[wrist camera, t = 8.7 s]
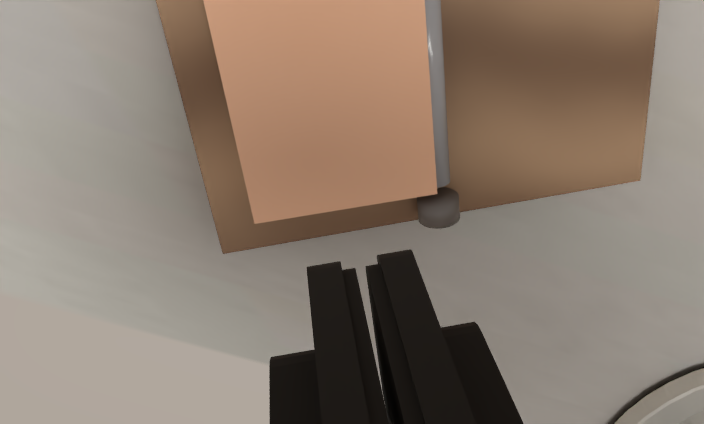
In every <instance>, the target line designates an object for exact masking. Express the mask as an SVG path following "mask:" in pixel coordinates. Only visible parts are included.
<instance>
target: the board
mask: <svg viewBox="0 0 704 424" xmlns="http://www.w3.org/2000/svg"><path fill="white" fill-rule="evenodd" d="M659 1H660V0H441V16H442V35H443V53H444V72H445V90H446V109H447V127H448V146H449V164H450V183H449V184H448V185H446V186H444V187H439V188H437V194H434V195H428V196H422V197H416V198H410V199H404V200H398V201H392V202H386V203H380V204H373V205H367V206H361V207H355V208H349V209H343V210H337V211H331V212H325V213H319V214H312V215H306V216H300V217H294V218H288V219H282V220H276V221H270V222H264V223H258V224H254V219H253V215H252V211H251V206H250V202H249V198H248V193H247V189H246V184H245V180H244V176H243V171H242V167H241V163H240V158H239V154H238V150H237V145H236V141H235V137H234V132H233V128H232V124H231V119H230V115H229V110H228V106H227V102H226V97H225V93H224V89H223V84H222V80H221V76H220V71H219V67H218V63H217V58H216V54H215V49H214V45H213V41H212V36H211V32H210V28H209V23H208V19H207V15H206V10H205V6H204V2H203V0H156V3H157V7H158V10H159V14H160V18H161V22H162V25H163V29H164V33H165V37H166V41H167V44H168V48H169V52H170V56H171V59H172V63H173V67H174V71H175V75H176V78H177V82H178V86H179V90H180V94H181V97H182V101H183V105H184V109H185V112H186V116H187V120H188V124H189V128H190V131H191V135H192V139H193V143H194V146H195V150H196V154H197V158H198V162H199V165H200V169H201V173H202V177H203V180H204V184H205V188H206V192H207V196H208V199H209V203H210V207H211V211H212V214H213V218H214V222H215V226H216V230H217V233H218V237H219V241H220V245H221V248H222V252H223V254H225V253H230V252H236V251H242V250H247V249H253V248H259V247H264V246H270V245H276V244H282V243H287V242H293V241H299V240H304V239H310V238H316V237H321V236H327V235H333V234H338V233H344V232H350V231H355V230H361V229H367V228H372V227H378V226H384V225H390V224H395V223H401V222H407V221H412V220H418V219H419V222H420V223H421V224H422V225H424V226H426V227H429V228H446V227H449V226H452V225H454V224H455V223H457V222H458V221H459V219H460V212H463V211H469V210H475V209H480V208H486V207H492V206H497V205H503V204H509V203H515V202H520V201H526V200H532V199H537V198H543V197H549V196H554V195H560V194H566V193H571V192H577V191H583V190H588V189H594V188H600V187H605V186H611V185H617V184H623V183H628V182H634V181H640V178H641V169H642V159H643V150H644V141H645V131H646V122H647V113H648V104H649V94H650V85H651V76H652V66H653V57H654V48H655V38H656V29H657V20H658V11H659Z"/></svg>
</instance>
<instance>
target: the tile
mask: <svg viewBox="0 0 704 424" xmlns="http://www.w3.org/2000/svg"><path fill="white" fill-rule="evenodd" d="M203 2H204V6H205V10H206V15H207V19H208V23H209V28H210V32H211V36H212V41H213V45H214V49H215V54H216V58H217V63H218V67H219V71H220V76H221V80H222V84H223V89H224V93H225V97H226V102H227V106H228V110H229V115H230V119H231V124H232V128H233V132H234V137H235V141H236V145H237V150H238V154H239V158H240V163H241V167H242V171H243V176H244V180H245V184H246V189H247V193H248V198H249V202H250V206H251V211H252V215H253V219H254V224H258V223H264V222H270V221H276V220H282V219H288V218H294V217H300V216H306V215H312V214H319V213H325V212H331V211H337V210H343V209H349V208H355V207H361V206H367V205H373V204H380V203H386V202H392V201H398V200H404V199H410V198H416V197H422V196H428V195H434V194H437V188H439V187H444V186H446V185H448V184H449V183H450V164H449V146H448V127H447V109H446V90H445V72H444V53H443V35H442V16H441V0H203Z"/></svg>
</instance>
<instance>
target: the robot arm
mask: <svg viewBox="0 0 704 424" xmlns="http://www.w3.org/2000/svg"><path fill="white" fill-rule="evenodd" d="M377 261H378V264H376V265H370V266H366V274H367V282H368V289H369V296H370V303H371V310H372V318H373V325H374V332H375V339H376V347H377V354H378V361H379V368H380V375H381V383H382V390H383V394H382V390H381V385H380V380H379V376H378V371H377V367H376V362H375V357H374V353H373V348H372V343H371V339H370V334H369V330H368V325H367V320H366V316H365V311H364V306H363V302H362V297H361V293H360V288H359V283H358V279H357V274H356V270H355V268H352V269H346V270H342V268H341V262H340V261H339V262H333V263H327V264H322V265H316V266H310V267H307V276H308V286H309V296H310V307H311V317H312V328H313V338H314V348H315V350H310V351H304V352H298V353H292V354H287V355H281V356H275V357H271V359H270V424H523V422H522V419H521V417H520V415H519V413H518V411H517V408H516V406H515V404H514V402H513V400H512V398H511V395H510V393H509V391H508V389H507V387H506V384H505V382H504V380H503V378H502V376H501V373H500V371H499V369H498V367H497V365H496V362H495V360H494V358H493V356H492V354H491V352H490V349H489V347H488V345H487V343H486V341H485V338H484V336H483V334H482V332H481V330H480V328H479V326H478V324H476V323H475V322H471V323H465V324H460V325H454V326H448V327H442V328H441V327H440V325H439V322H438V319H437V317H436V314H435V311H434V308H433V306H432V303H431V300H430V298H429V295H428V292H427V290H426V287H425V284H424V282H423V279H422V276H421V274H420V271H419V268H418V266H417V263H416V260H415V257H414V255H413V252H412V250H405V251H399V252H393V253H387V254H381V255H377ZM383 396H384V399H383ZM384 402H385V404H384ZM614 424H704V368H703V369H699V370H696V371H693V372H691V373H688V374H686V375H684V376H682V377H679V378H677V379H675V380H672V381H670V382H668V383H667V384H665V385H663V386H661V387H660V388H658V389H656V390H655V391H653V392H651V393H650V394H648V395H646V396H645V397H644V398H642V399H641V400H640V401H639V402H637V403H636V404H635V405H633V406H632V407H631V408H630V409H628V410H627V411H626V412H625V413H624V414H623V415H622V416H621V417H620V418H619V419H618V420H617V421H616V422H615V423H614Z"/></svg>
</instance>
